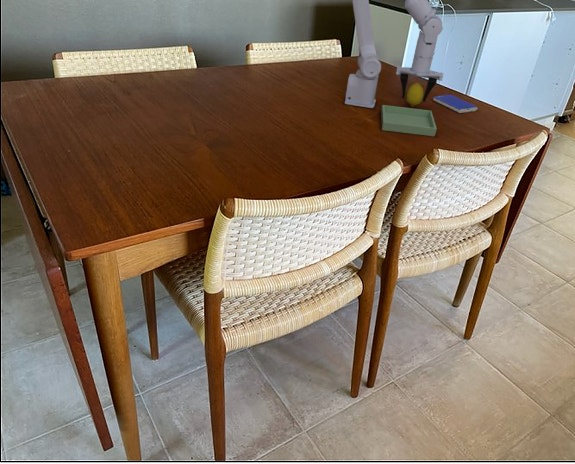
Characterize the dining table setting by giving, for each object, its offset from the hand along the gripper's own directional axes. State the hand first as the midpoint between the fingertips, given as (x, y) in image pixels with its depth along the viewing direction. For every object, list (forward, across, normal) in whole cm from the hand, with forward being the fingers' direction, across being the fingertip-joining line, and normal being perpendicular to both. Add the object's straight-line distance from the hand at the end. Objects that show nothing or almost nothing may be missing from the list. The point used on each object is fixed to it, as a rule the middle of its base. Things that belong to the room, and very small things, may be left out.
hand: (413, 99), depth 153 cm
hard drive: (+3, +14, +8) cm, 16 cm away
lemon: (+3, 0, 0) cm, 3 cm away
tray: (+3, -1, -16) cm, 17 cm away
